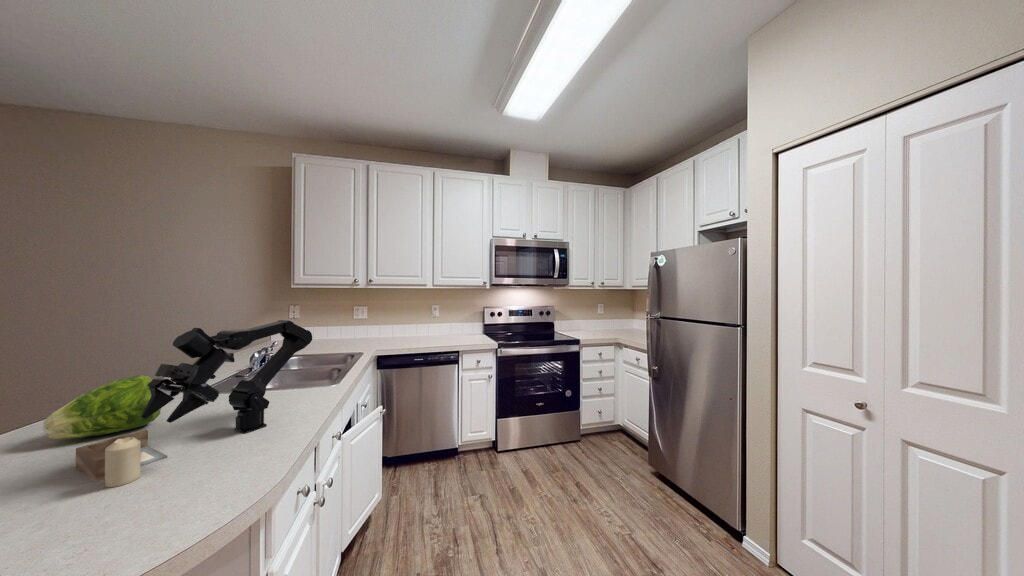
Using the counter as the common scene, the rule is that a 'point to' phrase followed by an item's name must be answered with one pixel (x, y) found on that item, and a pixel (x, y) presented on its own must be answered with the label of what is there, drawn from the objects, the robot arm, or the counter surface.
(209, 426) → the counter surface
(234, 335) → the robot arm
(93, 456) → the frame
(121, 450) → the candle
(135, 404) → the lettuce
